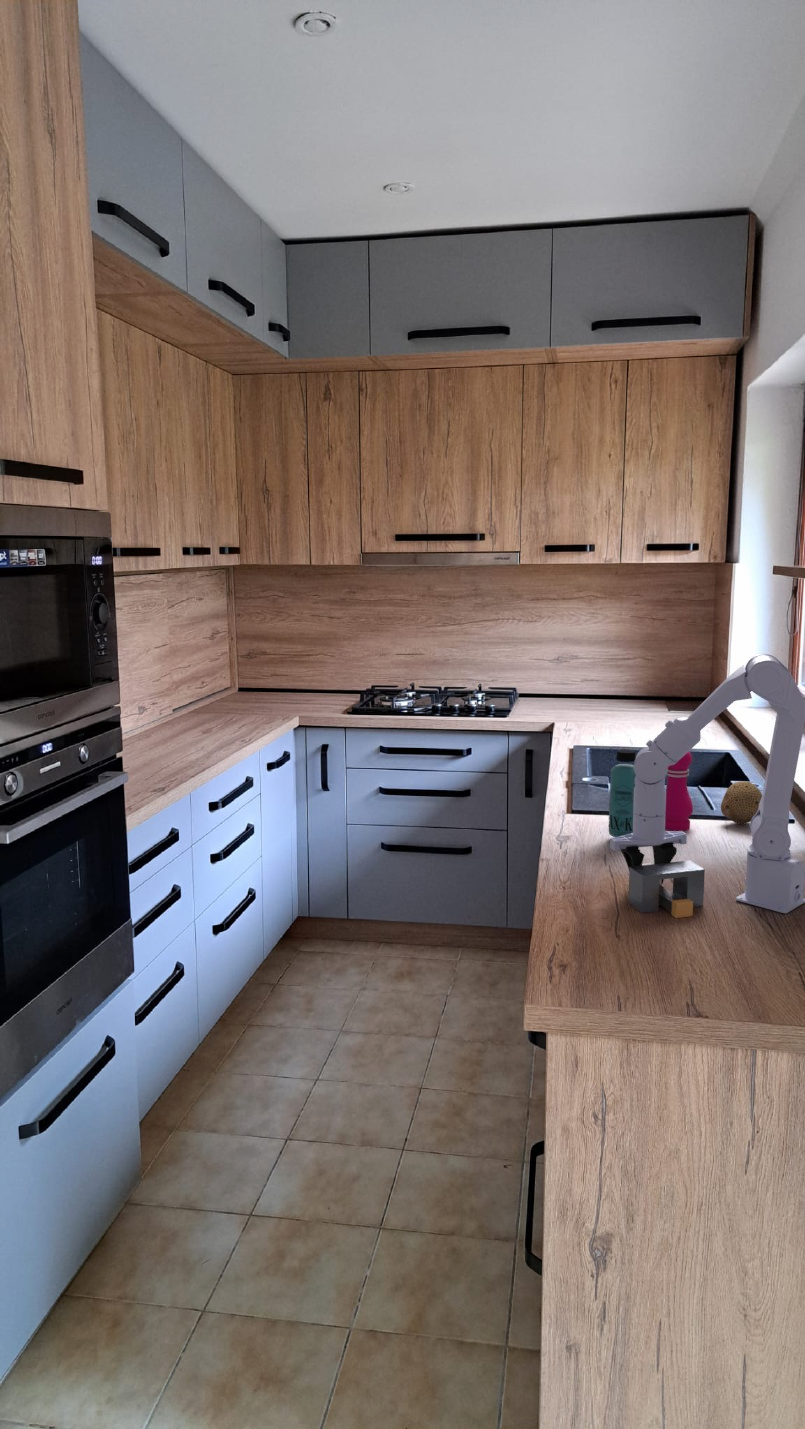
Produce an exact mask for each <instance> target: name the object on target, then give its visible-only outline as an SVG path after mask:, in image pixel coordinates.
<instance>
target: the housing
mask: <svg viewBox="0 0 805 1429" xmlns="http://www.w3.org/2000/svg"><path fill="white" fill-rule="evenodd" d="M705 870H706V869H705V868H703V867H702V866H699V865H698V864H697V863H695V862H694V861H692V860H690V859H689V860H682V861H671V862H670V863H661V864H654V863H653V864H651V865H642V866H632V867H629V869H628V904H629V905H630V906H632V907H633V908H634V909H636V910H637V911H638V912H640V914H644V913H646V912H647V913H653V912H659V906H660V905H659V881H660V880H661V879H664V880H668V879H669V880H670V879H672V893H673V894H675V895H676V896H678V897H679V898H681V899H690V900H691V901H693V908H696V907H704V899H705V898H704V896H705V895H704V894H705V872H706V871H705Z"/></svg>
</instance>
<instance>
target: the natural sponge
mask: <svg viewBox="0 0 805 1429" xmlns="http://www.w3.org/2000/svg"><path fill="white" fill-rule="evenodd" d="M762 794H763V792H762V791H761V790H760V789H759V787H757V786H756V784H753V783H752V782H750V781H745V780H744V781H740V780H739V781H735V782H733V783H732V784H731V785H730V786H728V788H727V789H726V791H725V793H724V795H723V798H722V801H721V804H720V812H721V813H722V815H723V816H724V817H726V818H727V819H729V820H731V821H732V822H734V823H735V824H738V825H746V824H748V823H750V822H751V819H752V818H753V817H754V815H755V814H756V813H757V811H758V808H759V803H760V800H761V798H762Z"/></svg>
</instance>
